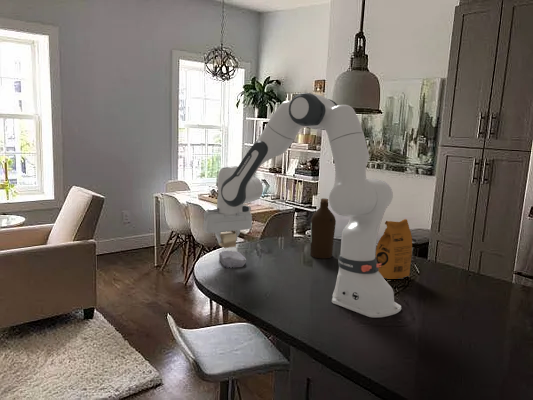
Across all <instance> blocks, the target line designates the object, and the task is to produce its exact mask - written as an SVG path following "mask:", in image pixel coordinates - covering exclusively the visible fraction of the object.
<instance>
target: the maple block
mask: <svg viewBox="0 0 533 400" xmlns="http://www.w3.org/2000/svg"><path fill="white" fill-rule="evenodd" d="M235 233H236V232H233V231H227V232H221V235H220V237H221V238H223V243H218V246H220V247H222V248H223V249H228V248H235V247H237V241H236V234H235Z"/></svg>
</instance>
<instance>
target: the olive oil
mask: <svg viewBox="0 0 533 400" xmlns="http://www.w3.org/2000/svg"><path fill="white" fill-rule="evenodd" d="M336 222H337V220H336V216H335V215H334V213H333V212H332V211H331V210H330V209H329V198H320V204H319V207H318V209H316V211H314V213H313V214H312V216H311V218H310V252H309V253H310V256H311V257H312V258H316V259H324V260H325V259H330V258H332V257H333V250H334V242H335V241H334V240H335V232H336Z"/></svg>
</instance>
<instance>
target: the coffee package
mask: <svg viewBox="0 0 533 400" xmlns="http://www.w3.org/2000/svg"><path fill="white" fill-rule="evenodd" d="M384 225H386V228H385V230H384V232H383V234H382V235H381V236H380V238H379V240H378V241H377V243H376V254H375V257H376V259H377V263H378V264H379V263H382V264H381V265H379V266H381V267H378V268H379V272H380V274H381V275H382V276H383V278H387V279H398V278H403V277H405V276H409V277H410V273H411V263H412V255H413V251H412V250H413V236H412V231H411V229H410V225H409V222H408V219H407V218H404V219H402V220H401V221H393V220H389V221H388V220H386V221H385V222H384Z"/></svg>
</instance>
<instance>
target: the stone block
mask: <svg viewBox="0 0 533 400" xmlns="http://www.w3.org/2000/svg"><path fill="white" fill-rule="evenodd" d="M218 256H219V257H218V259H219V262H220V263H221V265H222V266H223V267H224V268H226V269H232V267H233V268H242V267H243V266H245V265H246V262H247V259H246V257H245V256H244V255H243V254H242V253H241V252H239V251H234V250H223V251H220V252H219V254H218ZM229 267H230V268H229Z"/></svg>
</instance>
